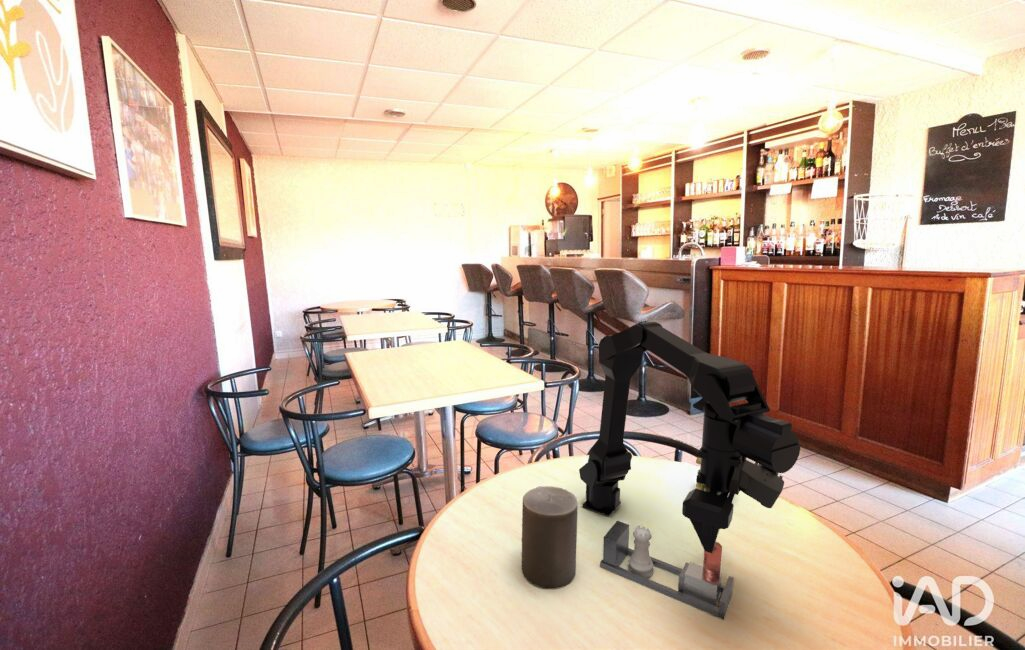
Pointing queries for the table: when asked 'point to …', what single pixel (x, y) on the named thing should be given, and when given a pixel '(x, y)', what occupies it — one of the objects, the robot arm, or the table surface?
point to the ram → (703, 577)
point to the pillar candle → (549, 536)
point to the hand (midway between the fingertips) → (715, 536)
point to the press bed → (619, 549)
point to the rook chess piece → (641, 553)
